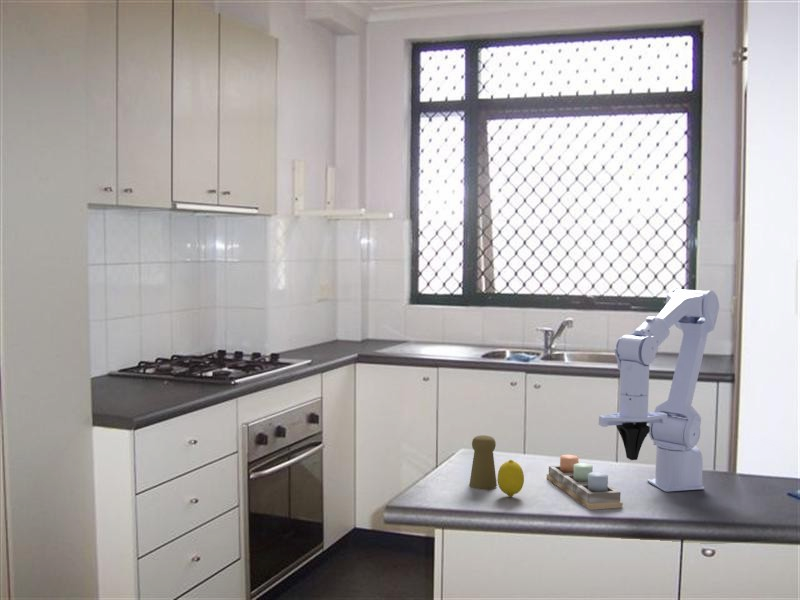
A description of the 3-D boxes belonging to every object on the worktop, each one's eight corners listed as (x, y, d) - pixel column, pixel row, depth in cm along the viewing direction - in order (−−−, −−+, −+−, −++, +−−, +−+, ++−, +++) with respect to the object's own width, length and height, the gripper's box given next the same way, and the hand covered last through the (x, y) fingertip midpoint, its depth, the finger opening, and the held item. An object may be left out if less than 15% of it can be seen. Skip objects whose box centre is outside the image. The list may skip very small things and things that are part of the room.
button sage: (587, 476, 182) (587, 462, 182) (595, 481, 178) (595, 467, 178) (570, 477, 181) (570, 463, 181) (578, 482, 178) (578, 468, 177)
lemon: (522, 502, 173) (523, 464, 173) (496, 500, 174) (496, 462, 174) (524, 493, 179) (525, 457, 178) (498, 492, 180) (498, 455, 179)
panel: (546, 478, 190) (546, 465, 190) (575, 476, 192) (576, 463, 191) (589, 509, 169) (590, 495, 168) (622, 507, 170) (622, 493, 170)
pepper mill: (465, 487, 183) (466, 438, 182) (474, 479, 188) (474, 432, 188) (492, 490, 181) (493, 440, 180) (499, 483, 186) (500, 434, 185)
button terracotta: (573, 467, 189) (573, 454, 189) (581, 472, 185) (581, 459, 185) (557, 468, 188) (557, 455, 188) (564, 473, 184) (564, 460, 184)
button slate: (602, 485, 176) (602, 471, 175) (610, 491, 172) (611, 477, 171) (584, 486, 175) (584, 472, 174) (593, 492, 171) (593, 478, 171)
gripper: (655, 388, 177) (653, 451, 178) (592, 391, 173) (590, 455, 174) (673, 395, 170) (671, 460, 171) (609, 398, 166) (607, 464, 167)
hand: (631, 458), depth 172 cm, fingers closed
